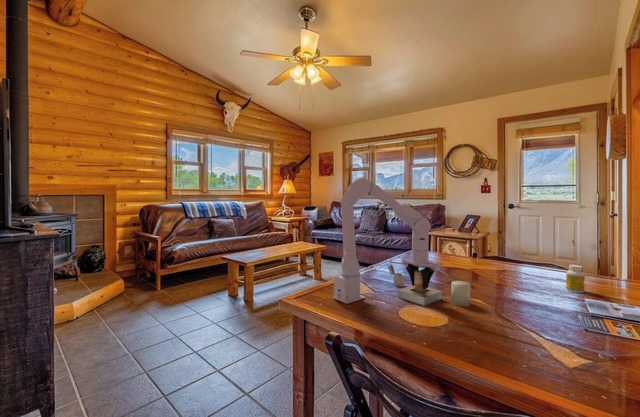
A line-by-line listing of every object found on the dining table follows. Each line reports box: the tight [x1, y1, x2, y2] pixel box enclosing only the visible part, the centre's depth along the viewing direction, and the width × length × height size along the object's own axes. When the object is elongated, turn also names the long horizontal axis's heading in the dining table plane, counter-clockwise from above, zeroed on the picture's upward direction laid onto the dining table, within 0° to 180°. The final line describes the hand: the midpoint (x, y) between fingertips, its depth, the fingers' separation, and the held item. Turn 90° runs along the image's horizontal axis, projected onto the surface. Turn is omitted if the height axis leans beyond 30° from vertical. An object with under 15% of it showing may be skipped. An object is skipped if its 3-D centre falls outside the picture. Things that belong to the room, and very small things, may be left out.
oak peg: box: [414, 269, 426, 294], centre depth 111 cm, size 4×4×8 cm
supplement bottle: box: [565, 264, 586, 294], centre depth 118 cm, size 5×5×10 cm
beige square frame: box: [397, 285, 443, 307], centre depth 112 cm, size 11×11×3 cm
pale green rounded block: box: [450, 280, 471, 307], centre depth 107 cm, size 6×6×7 cm
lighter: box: [387, 264, 405, 288], centre depth 129 cm, size 7×2×8 cm, turn 44°
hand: (420, 286), depth 111 cm, fingers closed on oak peg, 4 cm apart
